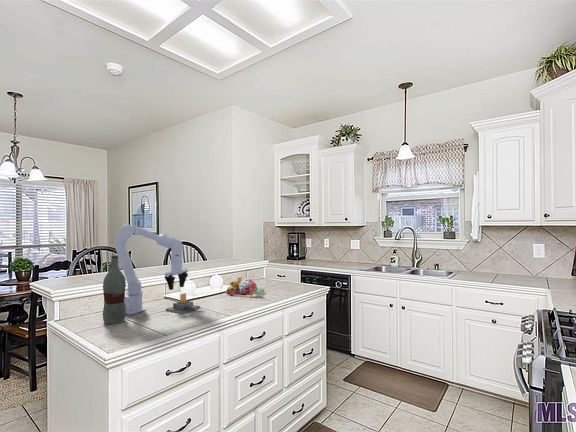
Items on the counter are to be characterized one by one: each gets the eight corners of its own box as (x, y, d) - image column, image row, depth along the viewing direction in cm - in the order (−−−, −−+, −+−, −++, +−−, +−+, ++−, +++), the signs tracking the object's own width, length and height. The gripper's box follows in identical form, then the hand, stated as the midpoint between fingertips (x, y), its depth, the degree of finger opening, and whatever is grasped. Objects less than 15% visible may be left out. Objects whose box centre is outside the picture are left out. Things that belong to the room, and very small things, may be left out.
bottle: (100, 325, 144) (100, 257, 144) (105, 319, 153) (105, 255, 153) (123, 324, 146) (123, 256, 147) (127, 318, 155) (127, 254, 156)
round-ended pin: (183, 308, 168) (183, 294, 168) (178, 307, 169) (178, 294, 169) (187, 306, 171) (187, 293, 171) (182, 306, 172) (182, 292, 172)
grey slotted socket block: (187, 314, 161) (187, 307, 162) (165, 310, 167) (165, 304, 167) (203, 308, 172) (203, 301, 172) (182, 305, 178) (182, 298, 178)
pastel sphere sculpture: (219, 296, 201) (219, 280, 201) (236, 288, 224) (236, 274, 224) (257, 298, 194) (257, 283, 194) (270, 290, 217) (271, 276, 217)
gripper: (172, 264, 167) (171, 291, 167) (191, 261, 180) (191, 286, 180) (161, 264, 170) (161, 290, 170) (182, 260, 183) (181, 285, 183)
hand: (176, 288), depth 175 cm, fingers open, 7 cm apart
